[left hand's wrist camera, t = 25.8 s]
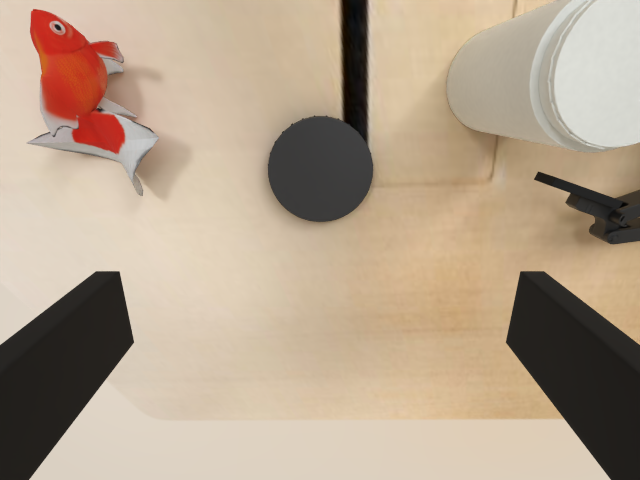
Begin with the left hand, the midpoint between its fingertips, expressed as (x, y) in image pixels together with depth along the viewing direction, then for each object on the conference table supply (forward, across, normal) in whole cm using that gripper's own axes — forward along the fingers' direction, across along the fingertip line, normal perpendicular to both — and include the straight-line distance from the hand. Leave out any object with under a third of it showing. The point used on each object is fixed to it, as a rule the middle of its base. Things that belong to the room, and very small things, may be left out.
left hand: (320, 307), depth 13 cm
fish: (+28, -19, +5) cm, 34 cm away
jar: (+28, +17, +8) cm, 34 cm away
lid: (+26, 0, 0) cm, 27 cm away
